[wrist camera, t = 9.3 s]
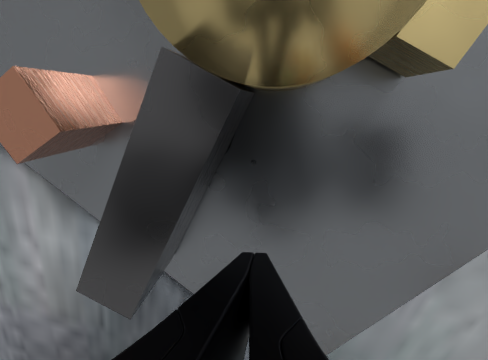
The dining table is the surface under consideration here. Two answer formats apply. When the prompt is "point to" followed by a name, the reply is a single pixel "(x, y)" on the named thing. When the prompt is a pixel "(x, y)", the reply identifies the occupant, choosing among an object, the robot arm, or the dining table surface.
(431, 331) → the dining table surface
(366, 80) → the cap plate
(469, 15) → the gold lugged knob
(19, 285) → the dining table surface
